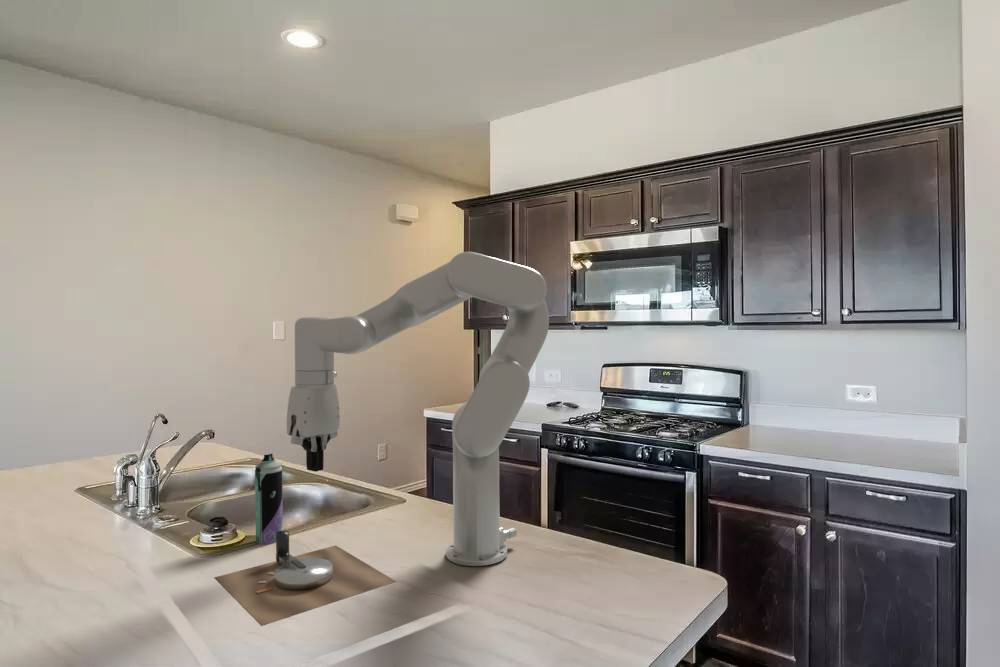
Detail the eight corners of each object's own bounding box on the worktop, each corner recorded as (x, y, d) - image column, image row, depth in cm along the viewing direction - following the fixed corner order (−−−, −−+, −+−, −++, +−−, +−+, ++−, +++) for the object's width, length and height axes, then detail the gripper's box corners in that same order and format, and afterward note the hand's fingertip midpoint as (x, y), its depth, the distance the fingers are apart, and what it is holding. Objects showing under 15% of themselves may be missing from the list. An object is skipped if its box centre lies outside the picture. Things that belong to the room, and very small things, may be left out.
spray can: (274, 551, 129) (272, 457, 128) (250, 550, 130) (249, 456, 130) (288, 542, 134) (286, 451, 134) (265, 541, 135) (264, 450, 135)
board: (335, 552, 128) (335, 544, 128) (396, 589, 110) (396, 580, 110) (214, 585, 112) (214, 576, 112) (261, 635, 94) (261, 624, 94)
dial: (342, 578, 111) (342, 547, 111) (288, 595, 104) (287, 561, 104) (305, 553, 123) (304, 525, 123) (254, 566, 116) (254, 537, 116)
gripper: (331, 375, 131) (331, 460, 131) (270, 380, 119) (271, 475, 119) (355, 377, 127) (356, 465, 127) (295, 383, 114) (296, 480, 115)
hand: (315, 469), depth 123 cm, fingers closed
